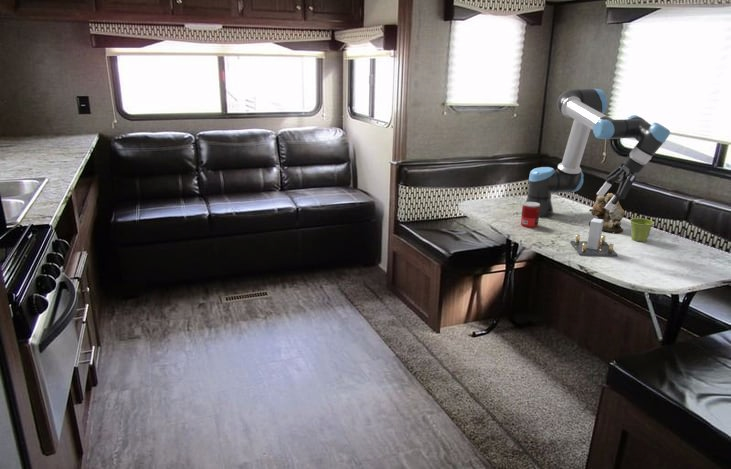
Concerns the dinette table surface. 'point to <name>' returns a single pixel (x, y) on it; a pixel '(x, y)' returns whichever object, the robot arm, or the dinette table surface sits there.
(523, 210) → the canned food
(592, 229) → the skincare box
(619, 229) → the owl figurine
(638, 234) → the plant pot
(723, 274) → the dinette table surface
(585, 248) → the standoff chassis
